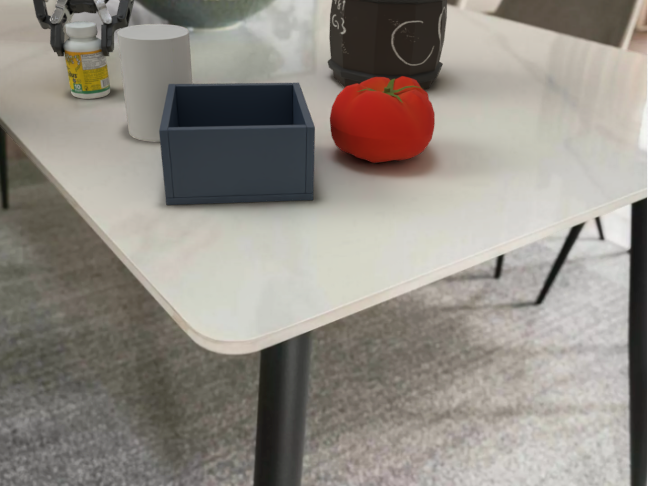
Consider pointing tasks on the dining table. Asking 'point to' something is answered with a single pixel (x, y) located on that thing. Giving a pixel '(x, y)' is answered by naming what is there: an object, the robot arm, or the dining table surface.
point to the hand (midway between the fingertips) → (82, 52)
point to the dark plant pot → (387, 39)
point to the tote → (236, 143)
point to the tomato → (382, 119)
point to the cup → (151, 73)
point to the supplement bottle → (85, 61)
